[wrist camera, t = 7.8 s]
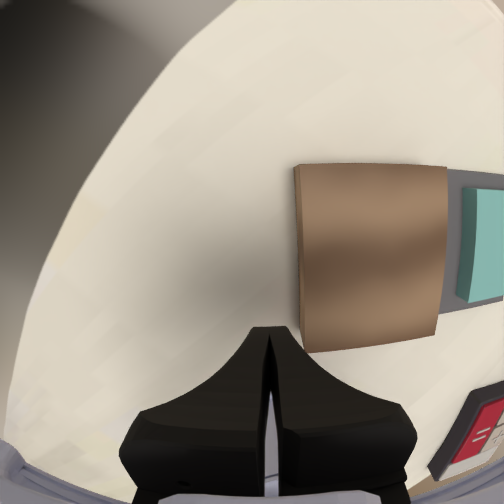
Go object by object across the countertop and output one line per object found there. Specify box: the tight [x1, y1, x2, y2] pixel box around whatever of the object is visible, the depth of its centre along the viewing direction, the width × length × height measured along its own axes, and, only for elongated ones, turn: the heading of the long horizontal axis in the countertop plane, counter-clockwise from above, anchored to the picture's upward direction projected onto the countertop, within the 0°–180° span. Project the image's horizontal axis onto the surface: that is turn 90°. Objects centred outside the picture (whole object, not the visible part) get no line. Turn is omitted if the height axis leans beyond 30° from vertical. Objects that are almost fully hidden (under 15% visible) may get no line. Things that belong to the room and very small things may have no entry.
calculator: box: [427, 381, 504, 481], centre depth 23 cm, size 11×4×15 cm
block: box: [456, 188, 504, 303], centre depth 18 cm, size 9×6×2 cm, turn 4°
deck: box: [294, 163, 448, 353], centre depth 19 cm, size 12×10×4 cm
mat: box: [438, 169, 504, 314], centre depth 20 cm, size 12×10×1 cm
